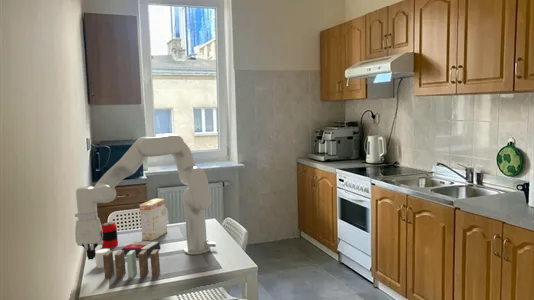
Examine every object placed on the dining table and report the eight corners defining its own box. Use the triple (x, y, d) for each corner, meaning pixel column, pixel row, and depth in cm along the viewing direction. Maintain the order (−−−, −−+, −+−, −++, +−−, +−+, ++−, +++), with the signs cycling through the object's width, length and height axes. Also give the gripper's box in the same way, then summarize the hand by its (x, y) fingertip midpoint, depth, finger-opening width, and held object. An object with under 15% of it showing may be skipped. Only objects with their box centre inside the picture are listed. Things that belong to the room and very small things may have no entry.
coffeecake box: (157, 231, 238) (154, 198, 236) (167, 232, 236) (165, 198, 234) (141, 239, 224) (138, 204, 222) (152, 240, 222) (150, 204, 220)
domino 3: (137, 272, 178) (135, 250, 177) (133, 277, 173) (131, 254, 172) (132, 272, 178) (130, 250, 177) (128, 277, 174) (126, 254, 172)
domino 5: (160, 271, 178) (158, 249, 177) (156, 276, 173) (154, 253, 172) (155, 272, 178) (153, 249, 177) (151, 276, 173) (150, 253, 172)
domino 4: (148, 272, 178) (146, 249, 177) (144, 277, 173) (143, 253, 172) (144, 272, 178) (142, 249, 177) (140, 277, 173) (138, 254, 172)
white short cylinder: (94, 269, 184) (92, 254, 184) (96, 264, 191) (94, 249, 190) (110, 267, 186) (109, 252, 186) (111, 261, 193) (110, 247, 192)
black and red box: (134, 240, 212) (159, 240, 208) (135, 248, 213) (160, 249, 208) (120, 247, 202) (147, 248, 197) (121, 256, 202) (148, 256, 198)
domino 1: (114, 273, 179) (112, 250, 178) (109, 278, 174) (107, 255, 173) (109, 273, 179) (107, 251, 178) (104, 278, 174) (102, 255, 173)
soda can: (104, 249, 210) (102, 226, 209) (100, 246, 217) (98, 223, 215) (119, 246, 215) (118, 223, 214) (115, 242, 221) (113, 220, 220)
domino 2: (125, 272, 179) (123, 250, 178) (121, 277, 174) (119, 254, 173) (121, 273, 179) (119, 250, 178) (116, 277, 174) (114, 254, 173)
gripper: (65, 219, 170) (69, 262, 172) (101, 217, 170) (105, 261, 172) (74, 214, 178) (78, 255, 180) (109, 213, 177) (112, 254, 179)
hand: (91, 258), depth 176 cm, fingers closed
